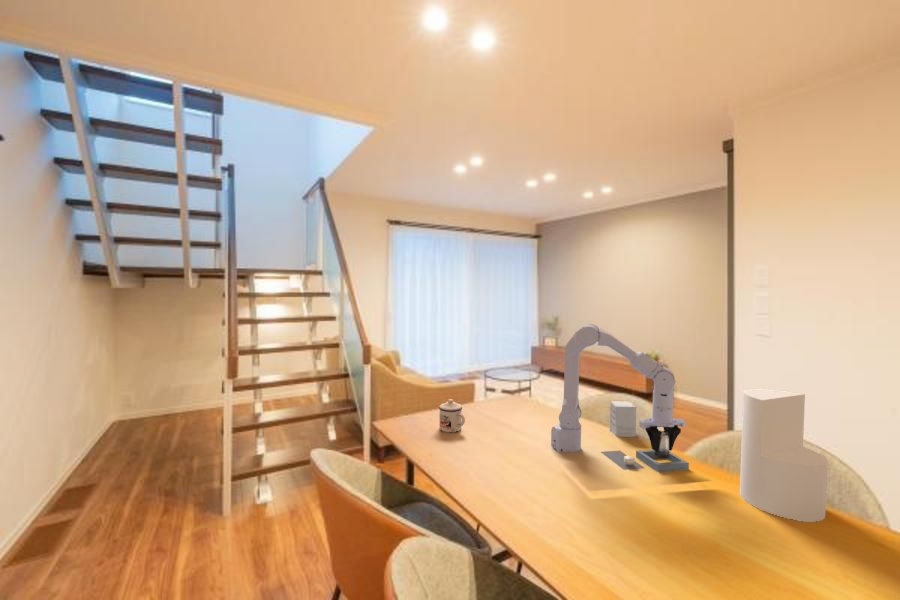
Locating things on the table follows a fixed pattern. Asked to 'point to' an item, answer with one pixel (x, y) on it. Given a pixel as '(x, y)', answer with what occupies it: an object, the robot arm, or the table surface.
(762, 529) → the table surface
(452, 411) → the teacup with lid
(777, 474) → the white stepped block
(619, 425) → the supplement box
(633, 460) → the test button
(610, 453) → the base
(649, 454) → the bin
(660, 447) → the battery cell
